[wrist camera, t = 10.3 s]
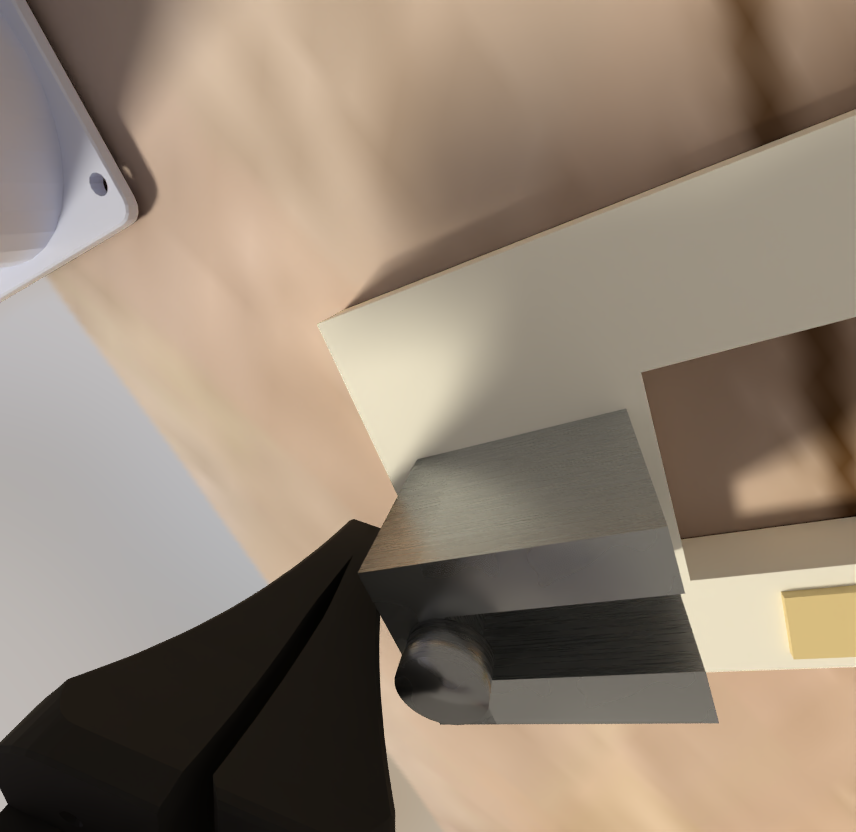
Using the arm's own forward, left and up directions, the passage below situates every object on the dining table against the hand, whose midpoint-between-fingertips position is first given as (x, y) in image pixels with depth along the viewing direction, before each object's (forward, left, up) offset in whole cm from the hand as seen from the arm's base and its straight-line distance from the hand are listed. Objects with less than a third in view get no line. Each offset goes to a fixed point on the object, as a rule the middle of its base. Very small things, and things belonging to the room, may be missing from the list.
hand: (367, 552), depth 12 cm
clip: (0, +5, -1) cm, 5 cm away
